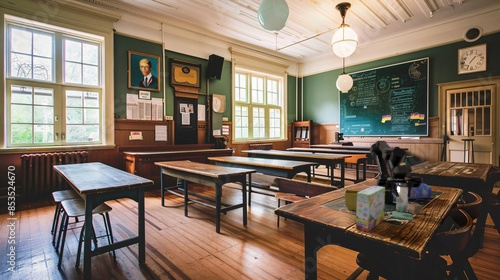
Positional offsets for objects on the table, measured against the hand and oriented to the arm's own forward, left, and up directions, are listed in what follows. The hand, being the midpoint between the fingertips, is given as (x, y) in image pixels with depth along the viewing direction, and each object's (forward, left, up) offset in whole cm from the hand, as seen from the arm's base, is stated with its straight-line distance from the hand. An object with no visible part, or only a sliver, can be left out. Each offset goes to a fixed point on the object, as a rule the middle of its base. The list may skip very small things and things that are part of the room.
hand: (403, 196), depth 113 cm
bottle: (0, +1, -7) cm, 7 cm away
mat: (0, +1, -10) cm, 10 cm away
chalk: (+1, +15, -10) cm, 18 cm away
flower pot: (-21, +2, -10) cm, 24 cm away
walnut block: (+6, +11, -10) cm, 15 cm away
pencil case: (+6, +43, -10) cm, 45 cm away
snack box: (-12, -17, -10) cm, 23 cm away
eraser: (+5, +20, -10) cm, 23 cm away
